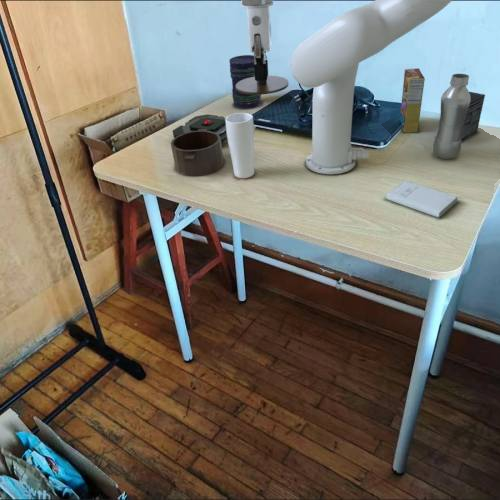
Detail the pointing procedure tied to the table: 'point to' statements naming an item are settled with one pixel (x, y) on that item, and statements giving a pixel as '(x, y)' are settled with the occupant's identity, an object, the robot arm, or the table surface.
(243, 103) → the storage jar
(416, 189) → the hard drive
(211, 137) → the two-handled cooking pot
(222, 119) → the four-lobed dark green device
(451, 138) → the plastic bottle
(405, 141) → the table surface
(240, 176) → the drinking glass
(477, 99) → the small box
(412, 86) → the candy box
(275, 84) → the lid
